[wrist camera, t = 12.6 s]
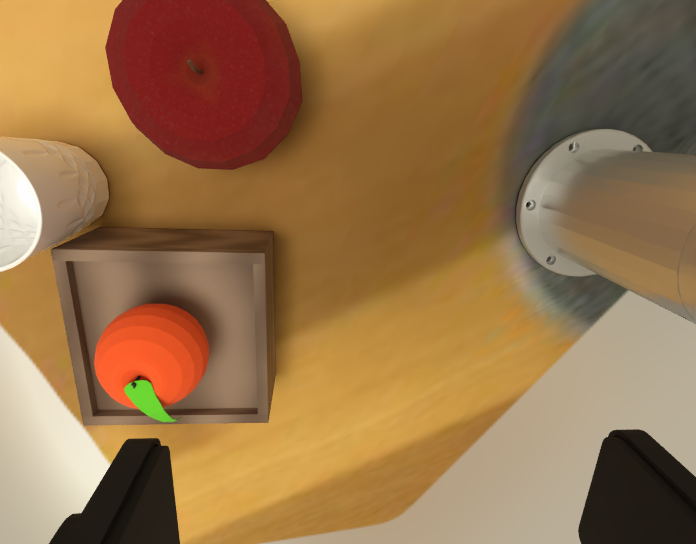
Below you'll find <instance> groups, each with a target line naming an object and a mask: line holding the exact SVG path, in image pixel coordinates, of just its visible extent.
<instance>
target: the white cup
mask: <svg viewBox="0 0 696 544" xmlns="http://www.w3.org/2000/svg"><path fill="white" fill-rule="evenodd" d="M108 200H109V190H108V181H107V178H106V176H105V174H104V172H103V171H102V169H101V167H100V166H99V164H98V162H97V161H96V160H95V159H94V158H92V157H91V156H90V155H89V154H87V153H86V152H85V151H83V150H82V149H81V148H80V147H77V146H74V145H70V144H67V143H63V142H60V141H45V140H39V139H31V138H18V137H2V136H0V272H1V271H5V270H8V269H10V268H13V267H15V266H17V265H19V264H20V263H22V262H24V261H26V260H28V259H30V258H32V257H34V256H36V255H37V254H39V253H41V252H43V251H45V250H47V249H49V248H51V247H53V246H55V245H57V244H58V243H60V242H62V241H63V240H65V239H67V238H69V237H70V236H72V235H74V234H76V233H77V232H79V231H80V230H81V229H83V228H85V227H87V226H88V225H90V224H91V223H92V222H94V221H95V220H96V219H98V218H99V217H100V216H102V215H103V212H104V210H105V208H106V205H107V203H108Z"/></svg>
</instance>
